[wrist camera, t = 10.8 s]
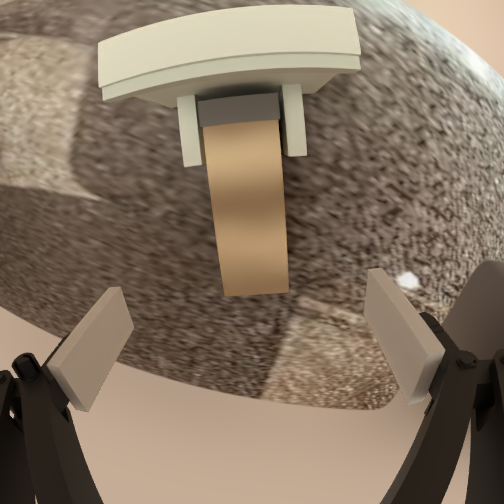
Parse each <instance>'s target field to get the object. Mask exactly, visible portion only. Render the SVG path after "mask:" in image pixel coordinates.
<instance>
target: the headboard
mask: <svg viewBox="0 0 504 504" xmlns="http://www.w3.org/2000/svg"><path fill="white" fill-rule="evenodd" d="M360 55H361V50H360V44H359V39H358V33H357V28H356V23H355V18H354V14H353V9H352V8H345V7H335V6H320V5H265V6H250V7H240V8H231V9H223V10H216V11H210V12H204V13H198V14H193V15H188V16H183V17H179V18H174V19H170V20H166V21H162V22H158V23H155V24H151V25H148V26H144V27H141V28H138V29H135V30H132V31H129V32H126V33H123V34H120V35H117V36H115V37H112V38H109V39H107V40H104V41H102V42H99V43H98V78H99V88H102V91H103V101H107V102H112V103H113V102H116V101H120V100H123V99H126V98H130V97H137V98H141V99H144V100H147V101H151V102H154V103H157V104H160V105H164V106H167V107H170V108H175V107H178V117H179V127H180V136H181V145H182V153H183V161H184V167H189V166H196V165H202V164H205V163H206V154H205V145H204V136H203V128H202V127H200V122H199V112H198V101H204V100H210V99H218V98H225V97H234V96H243V95H254V94H267V93H278V95H279V105H280V116H281V126H282V138H283V149H284V154H285V155H287V156H288V157H290V156H307V146H306V133H305V122H304V111H303V100H302V94H314V93H316V92H317V91H318V90H319V89H320V88H321V87H323V86H324V85H325V84H326V83H327V82H328V81H329V80H331V79H332V78H333V77H334V76H335V75H337V74H338V73H345V74H355V73H356V72H358V71H359V70H361V67H360V61H359V56H360Z"/></svg>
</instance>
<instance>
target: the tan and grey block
mask: <svg viewBox="0 0 504 504" xmlns="http://www.w3.org/2000/svg"><path fill="white" fill-rule="evenodd" d="M198 112H199V122H200V127H202V128H203V136H204V145H205V154H206V163H207V171H208V180H209V188H210V196H211V204H212V212H213V219H214V227H215V234H216V241H217V248H218V255H219V262H220V269H221V276H222V282H223V289H224V295H225V296H242V295H258V294H273V293H287V292H289V281H288V258H287V237H286V219H285V203H284V188H283V174H282V161H281V148H280V136H279V125H278V121H279V120H280V111H279V101H278V93H267V94H254V95H243V96H234V97H225V98H218V99H210V100H204V101H198Z"/></svg>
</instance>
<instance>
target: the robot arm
mask: <svg viewBox="0 0 504 504" xmlns="http://www.w3.org/2000/svg"><path fill="white" fill-rule="evenodd" d="M364 316H365V318H366V320H367V322H368V324H369V325H370V327H371V329H372V331H373V333H374V335H375V337H376V339H377V341H378V343H379V345H380V347H381V349H382V351H383V353H384V355H385V357H386V359H387V361H388V364H389V366H390V368H391V370H392V372H393V374H394V376H395V378H396V380H397V383H398V385H399V387H400V389H401V391H402V393H403V396H404V398H405V400H406V403H407V405H410V404H414V403H417V402H421V401H424V399H425V397H426V395H427V393H428V391H429V393H430V395H431V397H432V399H431V401H430V403H429V405H428V407H427V409H426V411H425V412H424V414H425V416H424V419H423V421H422V424H421V426H420V428H419V431H418V433H417V435H416V438H415V440H414V442H413V444H412V446H411V448H410V451H409V453H408V455H407V457H406V459H405V461H404V463H403V465H402V467H401V469H400V470H399V472H398V474H397V476H396V478H395V480H394V481H393V483H392V485H391V487H390V488H389V490H388V492H387V493H386V495H385V497H384V498H383V500H382V501H381V503H380V504H441V502H442V500H443V498H444V496H445V493H446V491H447V489H448V486H449V484H450V481H451V478H452V476H453V473H454V471H455V468H456V465H457V462H458V459H459V456H460V453H461V450H462V447H463V443H464V440H465V436H466V432H467V429H468V425H469V421H470V417H471V449H470V450H471V451H470V466H469V478H468V486H467V494H466V500H465V504H504V349H500V350H498V351H496V353H495V355H494V357H493V359H491V360H478V358H477V357H476V356H475V355H474V354H472V353H471V352H468V351H463V350H459V349H458V347H457V346H456V345H455V343H454V342H453V341H452V339H451V338H450V337H449V335H448V334H447V333H446V332H444V329H443V328H442V326H440V324H439V323H438V321H437V320H436V319H435V318H434V317H433V316H431V315H430V314H428V313H427V312H422V313H418V312H417V311H416V310H415V308H414V307H413V306H412V304H411V303H410V302H409V301H408V299H407V298H406V297H405V296H404V294H403V293H402V292H401V291H400V289H399V288H398V287H397V286H396V284H395V283H394V282H393V281H392V280H391V278H390V277H389V276H388V275H387V274H386V272H385V271H384V270H383V269H382V268H375V269H368V278H367V288H366V298H365V306H364ZM133 329H134V325H133V322H132V320H131V317H130V314H129V311H128V308H127V305H126V302H125V299H124V296H123V293H122V290H121V287H109V288H108V289H107V291H106V292H105V293H104V294H103V295H102V296H101V297H100V299H99V300H98V301H97V302H96V303H95V304H94V306H93V307H92V308H91V309H90V310H89V312H88V313H87V314H86V315H85V316H84V318H83V319H82V320H81V321H80V322H79V324H78V325H77V326H76V327H75V329H74V330H73V331H72V332H71V333H69V334H68V335H67V336H65V337H64V338H63V339H62V340H61V342H60V343H59V344H58V346H57V347H56V348H55V349H54V351H53V352H52V353H51V354H50V356H49V357H48V358H47V360H46V361H45V363H44V364H43V365H42V366H41V367H40V365H39V363H38V361H37V360H36V358H35V356H34V355H33V354H32V353H23V354H21V355H19V356H18V357H17V358H16V359H15V360H14V361H13V363H12V368H13V369H14V371H15V373H16V374H17V376H18V377H19V378H14V377H13V376H12V375H11V373H10V371H8V370H3V371H0V504H36V502H35V495H36V499H37V502H38V504H104V503H103V501H102V499H101V497H100V495H99V493H98V491H97V488H96V486H95V483H94V481H93V479H92V476H91V474H90V471H89V469H88V466H87V464H86V461H85V458H84V455H83V452H82V449H81V446H80V443H79V440H78V437H77V434H76V431H75V427H74V424H73V420H72V417H71V413H70V410H69V409H68V407H67V405H68V403H69V401H70V402H71V404H72V405H73V406H74V408H75V409H76V410H80V411H84V412H89V410H90V408H91V406H92V404H93V402H94V400H95V398H96V396H97V395H98V393H99V391H100V389H101V387H102V385H103V383H104V381H105V379H106V377H107V375H108V374H109V372H110V370H111V368H112V366H113V365H114V363H115V361H116V359H117V357H118V356H119V354H120V352H121V350H122V348H123V347H124V345H125V343H126V341H127V340H128V338H129V336H130V334H131V333H132V331H133ZM10 410H11V411H12V412H13V414H14V418H12V417H11V416H10Z"/></svg>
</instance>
